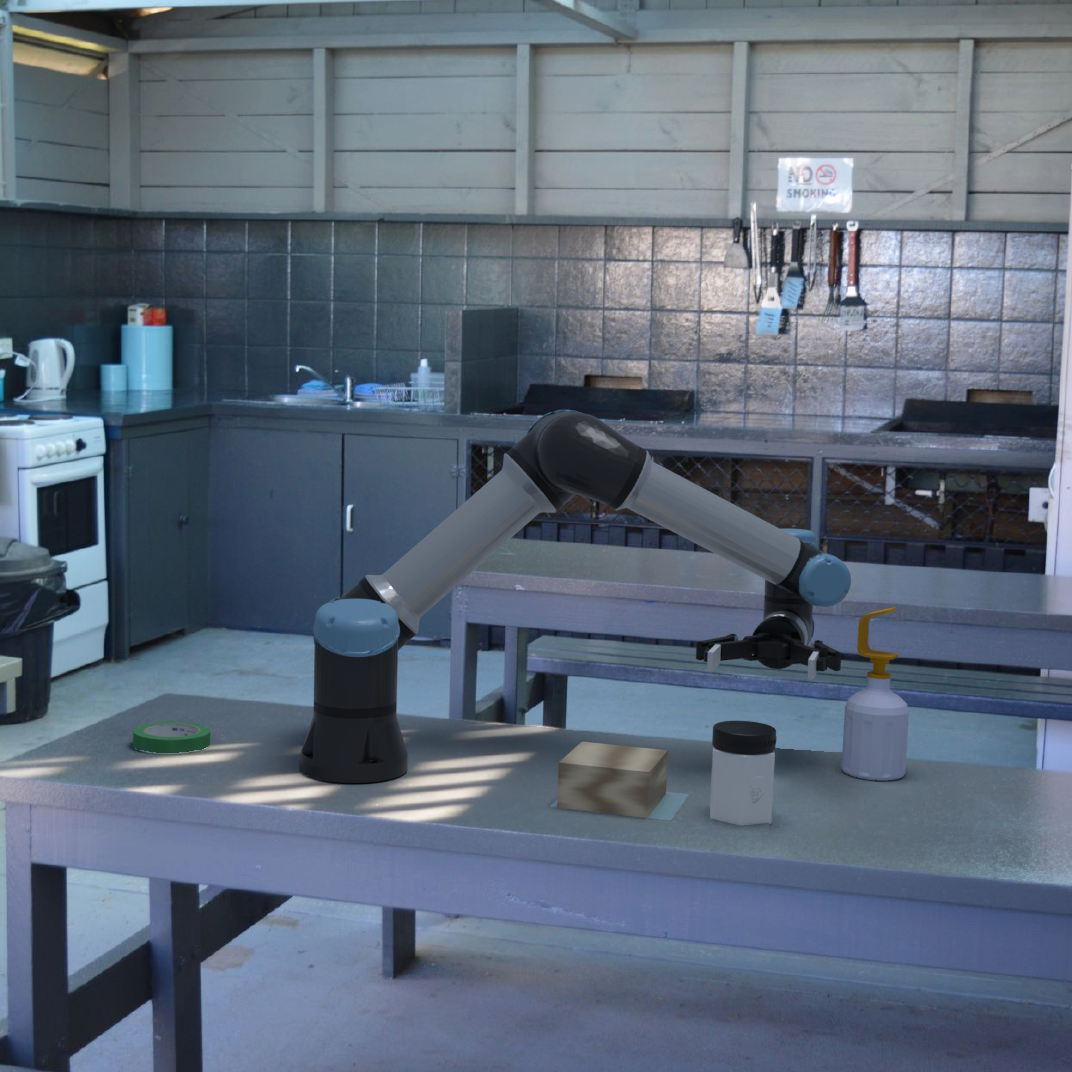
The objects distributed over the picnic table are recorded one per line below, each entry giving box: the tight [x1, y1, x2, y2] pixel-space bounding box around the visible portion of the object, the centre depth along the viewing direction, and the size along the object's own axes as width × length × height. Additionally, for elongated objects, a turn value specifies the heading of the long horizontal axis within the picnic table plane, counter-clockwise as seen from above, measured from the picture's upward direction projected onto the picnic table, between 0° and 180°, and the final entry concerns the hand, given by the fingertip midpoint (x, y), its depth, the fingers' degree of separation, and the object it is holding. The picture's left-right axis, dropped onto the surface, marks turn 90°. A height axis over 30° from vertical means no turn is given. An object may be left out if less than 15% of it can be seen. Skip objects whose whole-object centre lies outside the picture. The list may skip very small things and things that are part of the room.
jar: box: [709, 720, 778, 826], centre depth 191 cm, size 9×8×12 cm
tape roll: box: [132, 721, 211, 753], centre depth 219 cm, size 11×11×3 cm
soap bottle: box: [841, 606, 910, 782], centre depth 215 cm, size 9×9×25 cm
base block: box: [556, 741, 669, 819], centre depth 196 cm, size 12×12×6 cm
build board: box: [549, 791, 690, 822], centre depth 197 cm, size 16×13×1 cm
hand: (759, 666), depth 200 cm, fingers open, 13 cm apart
